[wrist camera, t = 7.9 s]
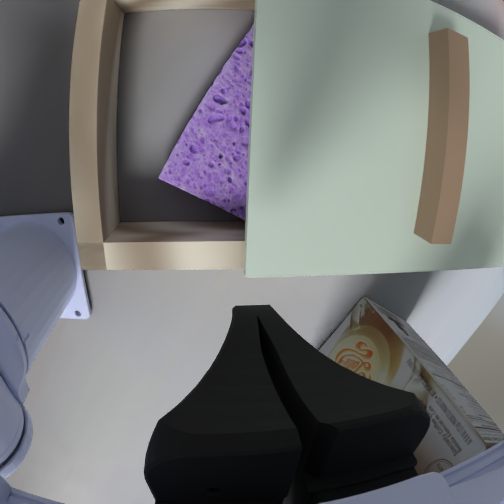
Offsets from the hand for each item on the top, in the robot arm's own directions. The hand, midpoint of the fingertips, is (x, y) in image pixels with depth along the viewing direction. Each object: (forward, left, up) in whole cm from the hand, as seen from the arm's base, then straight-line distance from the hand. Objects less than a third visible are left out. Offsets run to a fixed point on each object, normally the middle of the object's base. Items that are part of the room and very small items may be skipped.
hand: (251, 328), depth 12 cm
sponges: (+2, +8, -10) cm, 13 cm away
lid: (+11, +8, -6) cm, 15 cm away
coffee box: (+11, -10, -10) cm, 18 cm away
